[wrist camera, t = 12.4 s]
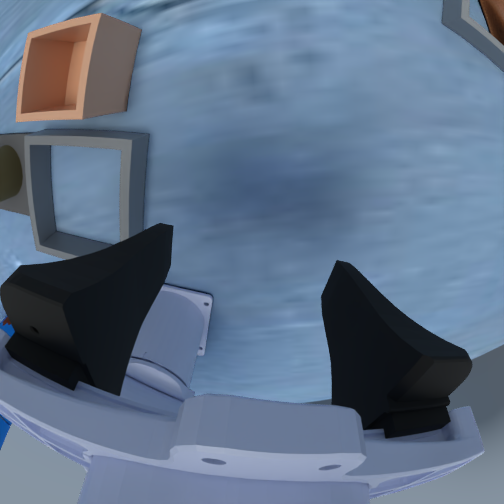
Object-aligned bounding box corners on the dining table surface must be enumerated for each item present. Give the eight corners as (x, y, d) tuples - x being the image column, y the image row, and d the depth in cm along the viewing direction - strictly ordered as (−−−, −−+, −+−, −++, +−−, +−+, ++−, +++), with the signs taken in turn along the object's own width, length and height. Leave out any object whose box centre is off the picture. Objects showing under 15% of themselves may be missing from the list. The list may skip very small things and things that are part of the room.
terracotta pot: (126, 111, 18) (82, 119, 13) (62, 111, 17) (15, 122, 12) (141, 29, 14) (101, 12, 9) (73, 38, 14) (28, 32, 9)
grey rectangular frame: (143, 259, 25) (130, 277, 22) (52, 236, 24) (36, 250, 21) (149, 134, 19) (132, 139, 16) (45, 129, 18) (24, 135, 16)
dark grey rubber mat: (39, 215, 23) (36, 217, 22) (-3, 205, 22) (-6, 207, 22) (34, 132, 18) (30, 133, 18) (-9, 135, 18) (-13, 136, 17)
